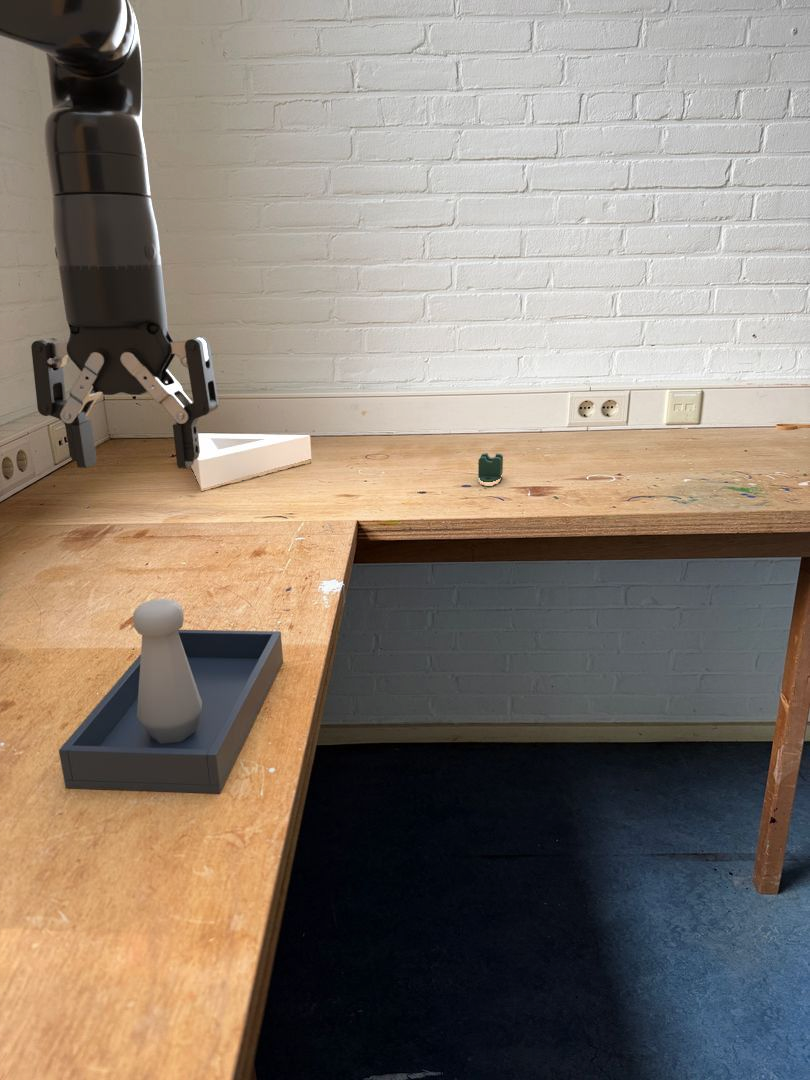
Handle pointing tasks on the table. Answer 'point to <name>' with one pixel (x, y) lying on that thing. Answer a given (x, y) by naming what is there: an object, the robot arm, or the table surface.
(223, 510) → the table surface
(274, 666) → the dark blue tray
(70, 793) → the table surface
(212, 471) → the triangle block
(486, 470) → the mount
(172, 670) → the salt shaker
